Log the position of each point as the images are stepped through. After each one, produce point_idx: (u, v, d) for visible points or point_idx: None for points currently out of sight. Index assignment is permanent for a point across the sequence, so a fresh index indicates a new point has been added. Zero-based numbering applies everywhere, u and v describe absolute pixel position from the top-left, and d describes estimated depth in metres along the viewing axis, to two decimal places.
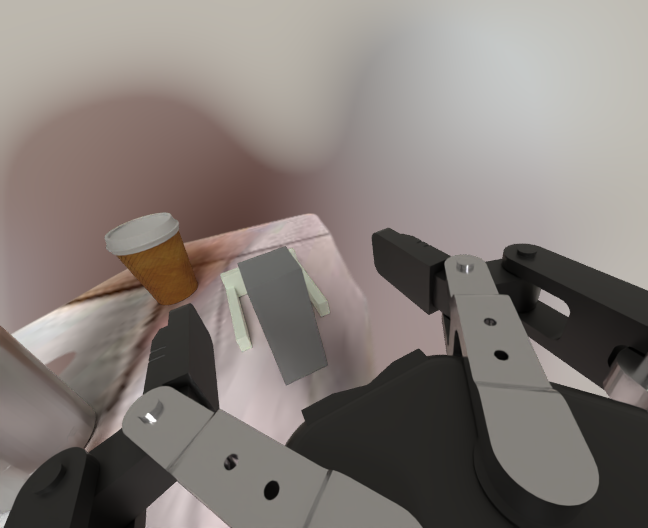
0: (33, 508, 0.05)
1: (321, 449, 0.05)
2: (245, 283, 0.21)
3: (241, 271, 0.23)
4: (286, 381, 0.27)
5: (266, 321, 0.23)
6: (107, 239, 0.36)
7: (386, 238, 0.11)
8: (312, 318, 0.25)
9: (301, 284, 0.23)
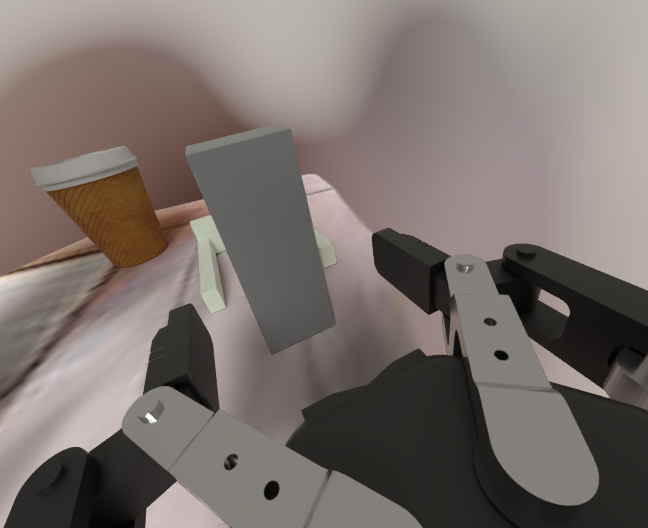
0: (33, 508, 0.05)
1: (321, 449, 0.05)
2: (188, 152, 0.12)
3: (188, 148, 0.13)
4: (271, 347, 0.17)
5: (231, 232, 0.13)
6: (32, 169, 0.27)
7: (386, 238, 0.11)
8: (311, 237, 0.15)
9: (291, 164, 0.13)
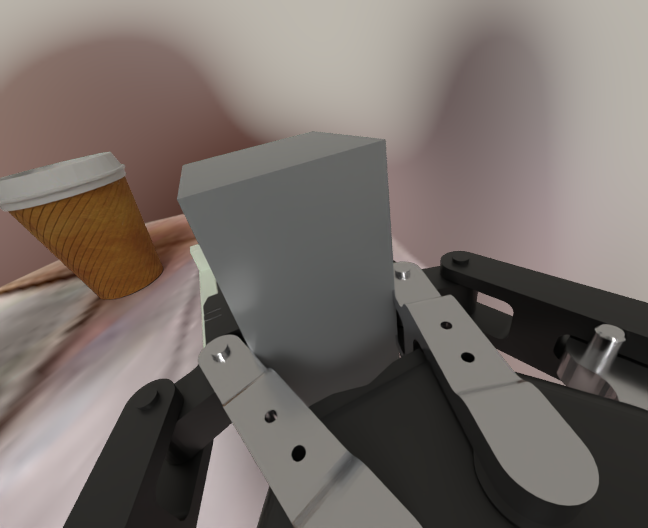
0: (134, 419, 0.06)
1: None
2: (184, 188, 0.06)
3: (185, 172, 0.07)
4: None
5: (264, 328, 0.07)
6: None
7: None
8: (390, 318, 0.09)
9: (378, 204, 0.07)
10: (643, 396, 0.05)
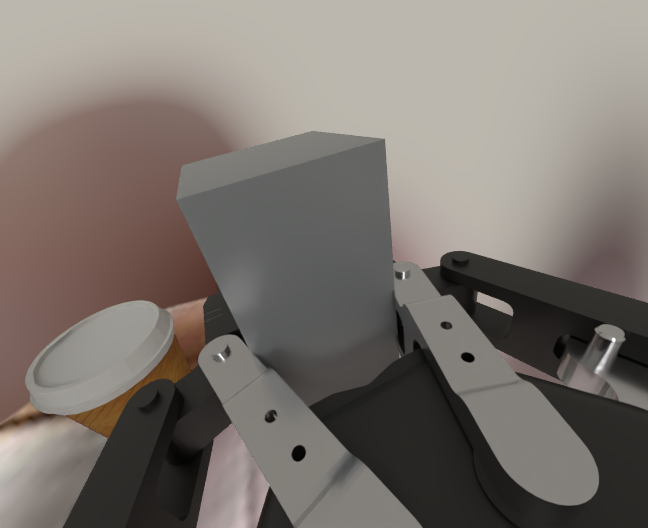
0: (134, 419, 0.06)
1: None
2: (182, 188, 0.06)
3: (184, 172, 0.07)
4: None
5: (263, 328, 0.07)
6: (29, 383, 0.18)
7: None
8: (390, 318, 0.09)
9: (377, 204, 0.07)
10: (642, 396, 0.05)
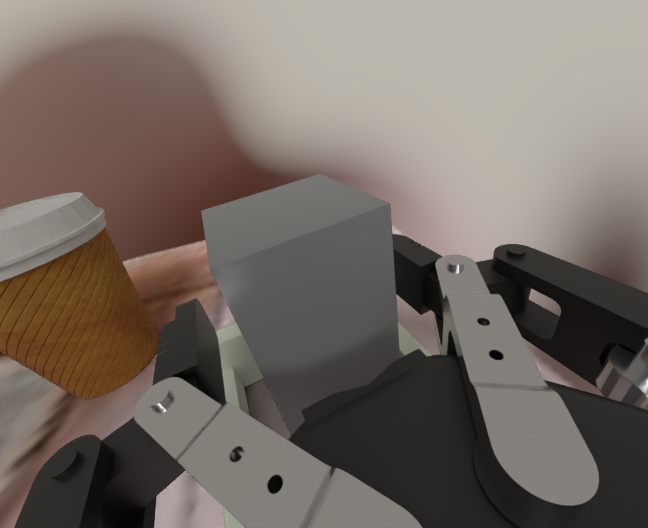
0: (49, 492, 0.05)
1: (321, 449, 0.05)
2: (212, 251, 0.07)
3: (207, 224, 0.08)
4: None
5: (280, 367, 0.08)
6: None
7: None
8: (393, 349, 0.10)
9: (383, 256, 0.08)
10: None
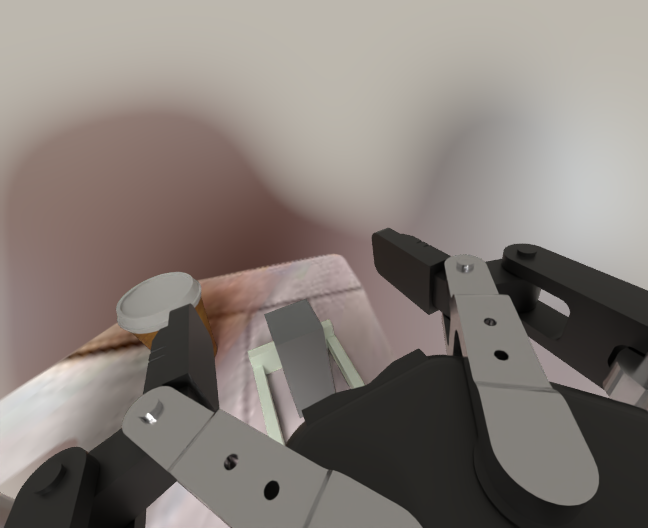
0: (33, 508, 0.05)
1: (321, 449, 0.05)
2: (274, 339, 0.25)
3: (269, 324, 0.26)
4: (300, 415, 0.30)
5: (289, 369, 0.26)
6: (119, 314, 0.31)
7: (386, 238, 0.11)
8: (327, 364, 0.28)
9: (321, 339, 0.26)
10: None
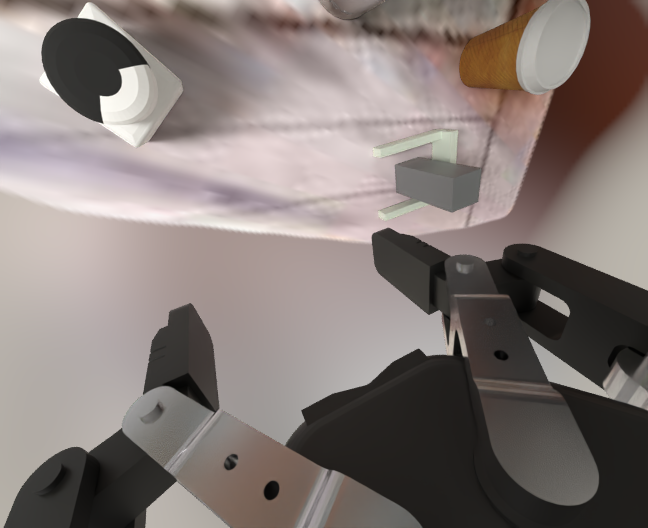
0: (33, 508, 0.05)
1: (321, 449, 0.05)
2: (458, 177, 0.34)
3: (471, 172, 0.35)
4: (396, 166, 0.43)
5: (432, 177, 0.37)
6: (558, 7, 0.29)
7: (386, 238, 0.11)
8: (423, 200, 0.41)
9: (443, 207, 0.37)
10: None
